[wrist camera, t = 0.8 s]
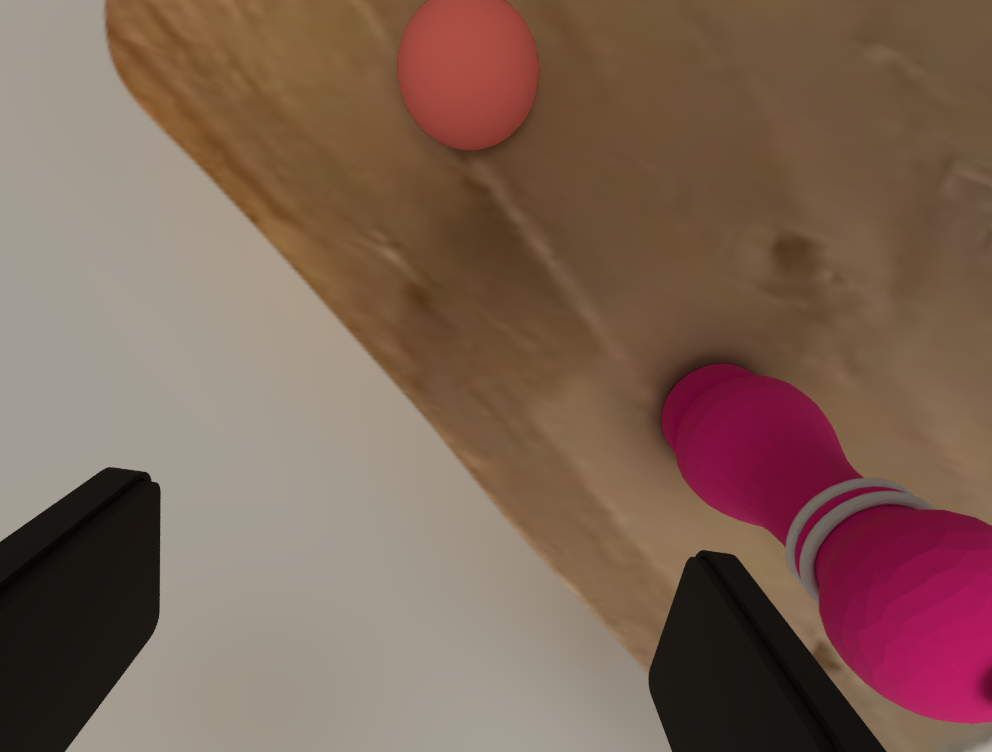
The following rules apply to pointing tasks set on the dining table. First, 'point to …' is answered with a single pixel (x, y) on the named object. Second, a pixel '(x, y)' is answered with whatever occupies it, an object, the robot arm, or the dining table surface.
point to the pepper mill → (846, 539)
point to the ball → (468, 71)
